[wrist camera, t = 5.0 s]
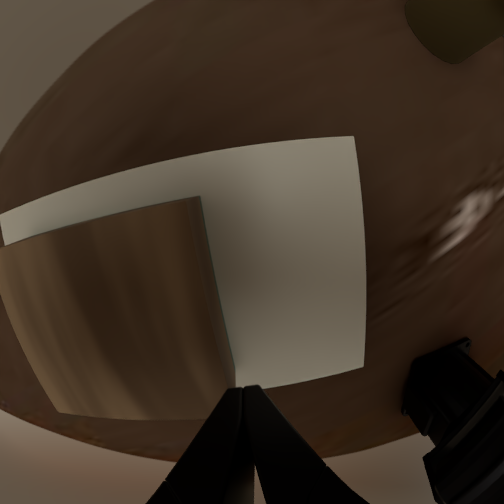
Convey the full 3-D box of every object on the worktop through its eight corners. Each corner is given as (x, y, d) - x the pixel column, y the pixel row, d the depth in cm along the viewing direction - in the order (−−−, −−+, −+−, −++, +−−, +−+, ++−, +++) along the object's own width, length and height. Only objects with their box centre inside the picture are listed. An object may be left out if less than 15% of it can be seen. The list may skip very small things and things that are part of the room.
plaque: (185, 200, 9) (-12, 252, 9) (236, 415, 12) (58, 411, 12) (200, 195, 13) (31, 236, 13) (235, 368, 16) (81, 375, 16)
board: (346, 138, 14) (353, 136, 13) (358, 358, 17) (363, 366, 16) (7, 213, 14) (-1, 215, 13) (69, 387, 17) (64, 394, 16)
